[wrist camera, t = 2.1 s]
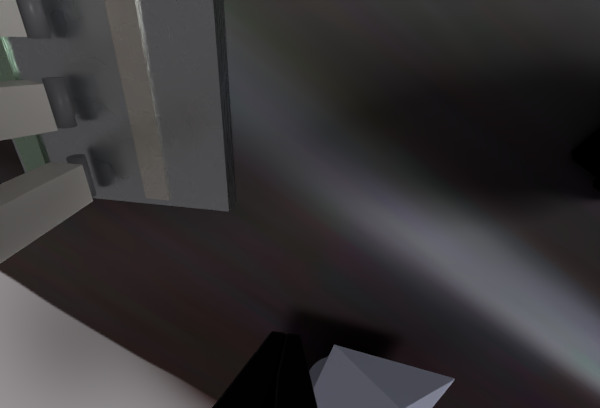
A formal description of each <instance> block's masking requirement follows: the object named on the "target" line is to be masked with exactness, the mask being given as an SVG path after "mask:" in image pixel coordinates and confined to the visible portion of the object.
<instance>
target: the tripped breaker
mask: <svg viewBox="0 0 600 408" xmlns="http://www.w3.org/2000/svg"><path fill="white" fill-rule="evenodd" d="M66 160H67V163H59V162H49V163H47V164H45V165H42V166H40V167H38V168H36V169H33V170H31V171H29V172H27V173H24V174H22V175H20V176H18V177H15V178H13V179H11V180H8V181H6V182H4V183H2V184H0V263H2V262H3V261H5V260H6V259H8V258H9V257H11V256H12V255H14V254H15V253H16V252H18V251H19V250H21V249H22V248H24V247H25V246H27V245H28V244H30V243H31V242H33V241H34V240H36V239H37V238H39V237H40V236H42V235H43V234H45V233H46V232H48V231H49V230H51V229H52V228H54V227H55V226H57V225H58V224H60V223H61V222H63V221H64V220H66V219H67V218H69V217H70V216H72V215H73V214H75V213H76V212H78V211H79V210H81V209H82V208H84V207H85V206H87V205H88V204H90V203H91V202H93V199H92V197H94V196H96V190H95V187H94V183H93V180H92V176H91V173H90V169H89V166H88V162H87V159H86V155H84V154H75V155H70V156H68V157H66Z"/></svg>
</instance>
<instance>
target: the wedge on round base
mask: <svg viewBox="0 0 600 408" xmlns="http://www.w3.org/2000/svg"><path fill="white" fill-rule="evenodd" d="M309 373H310V377H311V382H312V386H313V390H314V394H315V398H316V403H317V407H318V408H432V407H433V406H434V405H435V403H436V402H437V401H438V400H439V398H440V397H441V396H442V395H443V394H444V392H445V391H446V390H447V389H448V387H449V386H450V385H451V384H452V383H453V381H454V380H455V379H454V378H451V377H447V376H443V375H440V374H436V373H433V372H429V371H426V370H422V369H419V368H415V367H412V366H408V365H405V364H401V363H397V362H394V361H390V360H387V359H383V358H380V357H376V356H373V355H369V354H366V353H362V352H359V351H355V350H352V349H348V348H344V347H341V346H337V345H334V346H333V348H332V350H331V352H330V354H329V356H327V357H325V358H323V359H321V360H319V361H318V362H317V363H315V364H314V365H313V366H312V367H311V369H310V371H309Z"/></svg>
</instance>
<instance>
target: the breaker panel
mask: <svg viewBox="0 0 600 408" xmlns="http://www.w3.org/2000/svg"><path fill="white" fill-rule="evenodd" d="M41 3H42V7H43V10H44V13H45V17H46V20H47V24H48V27H49V31H50V34H51V39H34V38H27V37H0V81H13V80H27V79H29V80H32V81H36V82H39V83H42V84H43V82H42V79H41V78H46V77H63V78H64V80H65V84H66V87H67V91H68V94H69V98H70V101H71V105H72V108H73V112H74V115H75V118H76V122H77V126H76V127H73V128H64V129H62V128H57V129H58V131H53V132H47V133H41V134H36V135H30V136H24V137H18V138H13V139H12V141H13V143H14V146H15V149H16V151H17V154H18V156H19V159H20V161H21V164H22V166H23V169H24V171H25V173H27V172H29V171H31V170H33V169H36V168H38V167H40V166H42V165H45V164H47V163H49V162H59V163H67V160H66V157H68V156H70V155H75V154H84V155H86V159H87V162H88V166H89V169H90V173H91V176H92V180H93V183H94V187H95V190H96V196H94V197H92V198H98V199H108V200H118V201H128V202H138V203H148V204H158V205H168V206H178V207H188V208H198V209H209V210H219V211H230V209H231V208H232V206H233V205H234V203H235V202H236V195H235V179H234V163H233V147H232V131H231V115H230V99H229V83H228V67H227V51H226V35H225V20H224V4H223V0H41Z"/></svg>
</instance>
